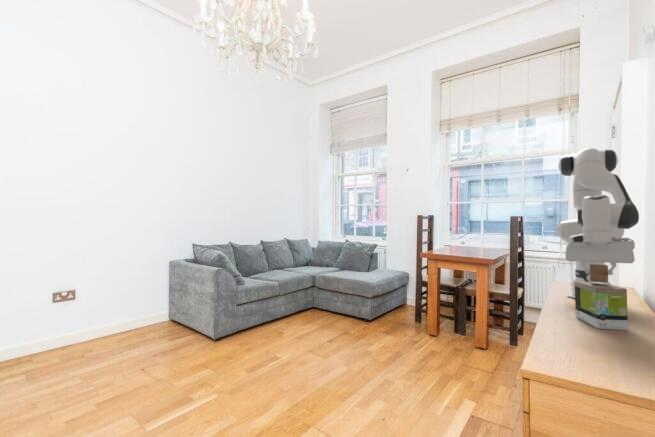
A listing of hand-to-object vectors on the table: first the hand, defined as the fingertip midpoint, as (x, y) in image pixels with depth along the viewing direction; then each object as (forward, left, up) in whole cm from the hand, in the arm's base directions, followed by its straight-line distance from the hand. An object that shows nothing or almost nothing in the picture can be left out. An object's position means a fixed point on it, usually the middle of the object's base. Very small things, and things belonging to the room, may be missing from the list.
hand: (598, 274), depth 124 cm
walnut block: (0, 0, -3) cm, 3 cm away
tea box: (0, 0, -19) cm, 19 cm away
